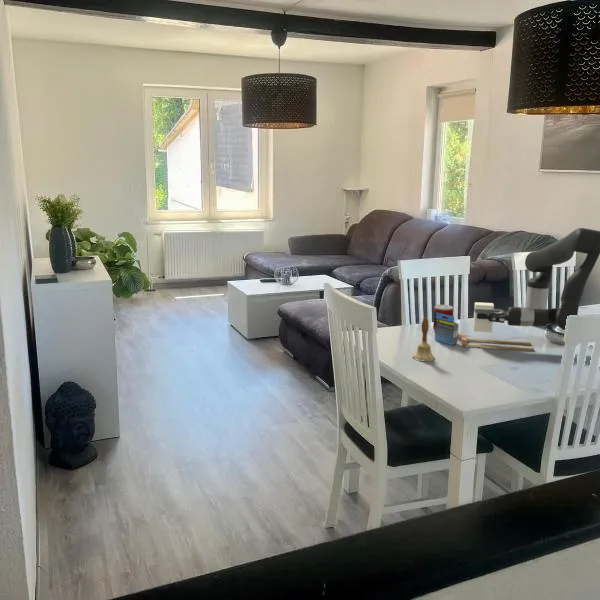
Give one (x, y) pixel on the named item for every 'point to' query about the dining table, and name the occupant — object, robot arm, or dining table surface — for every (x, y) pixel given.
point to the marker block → (482, 324)
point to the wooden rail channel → (464, 340)
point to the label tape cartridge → (446, 329)
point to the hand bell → (424, 345)
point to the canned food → (442, 312)
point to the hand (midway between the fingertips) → (476, 314)
